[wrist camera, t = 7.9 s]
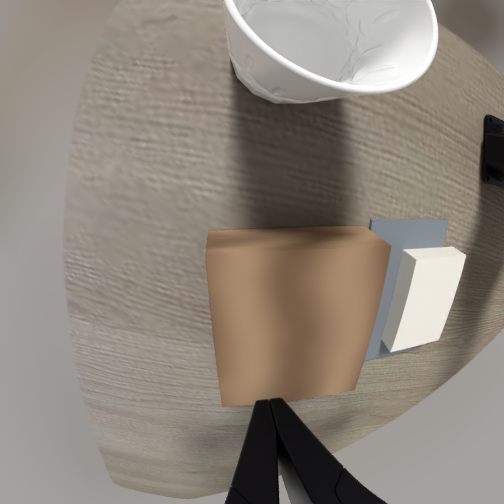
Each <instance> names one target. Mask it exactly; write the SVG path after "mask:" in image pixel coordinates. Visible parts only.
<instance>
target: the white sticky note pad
mask: <svg viewBox="0 0 504 504" xmlns="http://www.w3.org/2000/svg"><path fill="white" fill-rule="evenodd" d="M465 258H466V255H465V254H463V253H462V252H460V251H459V250H457V249H456V248H454V247H437V248H421V249H404V250H403V252H402V257H401V263H400V268H399V272H398V277H397V282H396V286H395V290H394V294H393V298H392V302H391V306H390V310H389V314H388V318H387V321H386V325H385V328H384V332H383V335H382V338H381V339H382V341H383V342H384V344H385V345H386V347H387V348H388V349H389V351H390V352H394V351H399V350H403V349H407V348H411V347H415V346H418V345H422V344H426V343H429V342H433V341H436V340H439V337H440V335H441V332H442V330H443V327H444V325H445V322H446V319H447V317H448V314H449V311H450V308H451V305H452V302H453V299H454V296H455V293H456V290H457V287H458V284H459V280H460V277H461V273H462V270H463V266H464V262H465Z"/></svg>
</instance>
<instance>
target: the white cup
mask: <svg viewBox="0 0 504 504" xmlns="http://www.w3.org/2000/svg"><path fill="white" fill-rule="evenodd" d="M222 4H223V14H224V25H225V35H226V41H227V46H228V51H229V55H230V58H231V61H232V64H233V68H234V71H235V74H236V77H237V78H238V79H239V80H240V81H241V82H242V83H243V84H244V85H245V86H246V87H247V88H248V89H249V90H250V91H251V92H252V93H253V94H254V95H257V96H259V97H261V98H264V99H266V100H269V101H271V102H273V103H276V104H301V103H312V102H319V101H329V100H335V99H341V98H348V97H355V96H363V95H372V94H382V93H389V92H393V91H397V90H400V89H403V88H405V87H407V86H409V85H411V84H412V83H414V82H415V81H417V80H418V79H419V78H420V77H421V76H423V74H424V73H425V72H426V71H427V70H428V68H429V67H430V65H431V63H432V61H433V59H434V57H435V54H436V50H437V45H438V24H437V19H436V15H435V11H434V8H433V5H432V3H431V0H222Z"/></svg>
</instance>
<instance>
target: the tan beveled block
mask: <svg viewBox="0 0 504 504" xmlns="http://www.w3.org/2000/svg"><path fill="white" fill-rule="evenodd" d="M390 252H391V245H389V244H388V243H387V242H385V241H384V240H383V239H381V238H380V237H379V236H377V235H376V234H375V233H373V232H372V231H371V230H369V229H368V228H366V227H365V226H326V227H290V228H261V229H236V230H214V231H208V239H207V246H206V254H205V256H206V269H207V280H208V291H209V301H210V311H211V321H212V330H213V339H214V348H215V356H216V364H217V372H218V379H219V387H220V394H221V401H222V407H225V406H244V405H255V402H256V401H257V400H262V399H268V400H269V399H271V398H277V397H281V398H283V399H284V401H285V402H286V401H294V400H301V399H308V398H314V397H320V396H326V395H332V394H337V393H342V392H347V391H352V390H355V387H356V384H357V381H358V378H359V375H360V372H361V369H362V366H363V363H364V360H365V356H366V353H367V350H368V346H369V343H370V339H371V336H372V332H373V329H374V325H375V321H376V317H377V313H378V309H379V305H380V301H381V297H382V292H383V288H384V283H385V278H386V273H387V268H388V263H389V258H390Z"/></svg>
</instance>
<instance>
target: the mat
mask: <svg viewBox="0 0 504 504" xmlns="http://www.w3.org/2000/svg"><path fill="white" fill-rule="evenodd" d="M447 225H448V220H437V219H370V228H369V230H371V231H372V232H373V233H375V234H376V235H377V236H379V237H380V238H381V239H383V240H384V241H385V242H387V243H388V244H389V245H391V252H390V258H389V263H388V268H387V273H386V278H385V283H384V288H383V292H382V297H381V301H380V305H379V309H378V313H377V317H376V321H375V325H374V329H373V332H372V336H371V339H370V343H369V346H368V350H367V353H366V356H365V360H364V361H367V360H371V359H376V358H381V357H385V356H390V355H394V354H398V353H402V352H406V351H410V350H412V348H413V347H411V348H407V349H403V350H399V351H394V352H390V351H389V349H388V348H387V347H386V345H385V344H384V342H383V341H382V339H381V338H382V335H383V332H384V328H385V325H386V321H387V318H388V314H389V310H390V306H391V302H392V298H393V294H394V290H395V286H396V282H397V277H398V272H399V268H400V263H401V257H402V252H403V250H404V249H421V248H437V247H443V245H444V241H445V236H446V230H447Z"/></svg>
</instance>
